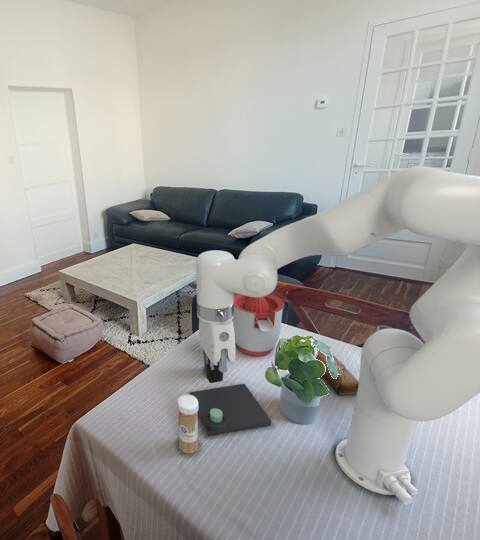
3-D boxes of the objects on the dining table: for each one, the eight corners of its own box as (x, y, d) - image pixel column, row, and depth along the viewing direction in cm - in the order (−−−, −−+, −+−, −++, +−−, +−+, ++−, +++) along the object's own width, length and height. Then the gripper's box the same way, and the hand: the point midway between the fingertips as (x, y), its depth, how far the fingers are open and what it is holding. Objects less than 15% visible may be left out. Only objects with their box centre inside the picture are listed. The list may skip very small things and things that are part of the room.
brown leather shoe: (369, 391, 89) (359, 375, 87) (344, 404, 91) (334, 387, 89) (329, 352, 106) (320, 337, 104) (308, 363, 107) (299, 348, 106)
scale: (271, 427, 82) (272, 417, 81) (208, 438, 80) (208, 428, 79) (244, 387, 95) (244, 378, 94) (189, 396, 94) (189, 387, 93)
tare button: (224, 421, 81) (224, 416, 81) (212, 423, 81) (212, 418, 80) (219, 412, 84) (219, 407, 83) (207, 414, 84) (207, 409, 83)
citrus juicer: (238, 365, 105) (241, 308, 97) (224, 335, 121) (225, 284, 114) (289, 363, 104) (296, 305, 96) (268, 332, 120) (273, 281, 113)
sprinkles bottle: (176, 451, 78) (174, 405, 73) (181, 435, 82) (180, 391, 77) (196, 457, 76) (195, 410, 71) (200, 441, 80) (200, 396, 75)
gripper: (248, 323, 64) (245, 400, 71) (218, 292, 78) (217, 358, 85) (211, 329, 64) (210, 405, 70) (187, 296, 78) (188, 363, 84)
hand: (214, 379), depth 77 cm, fingers closed
